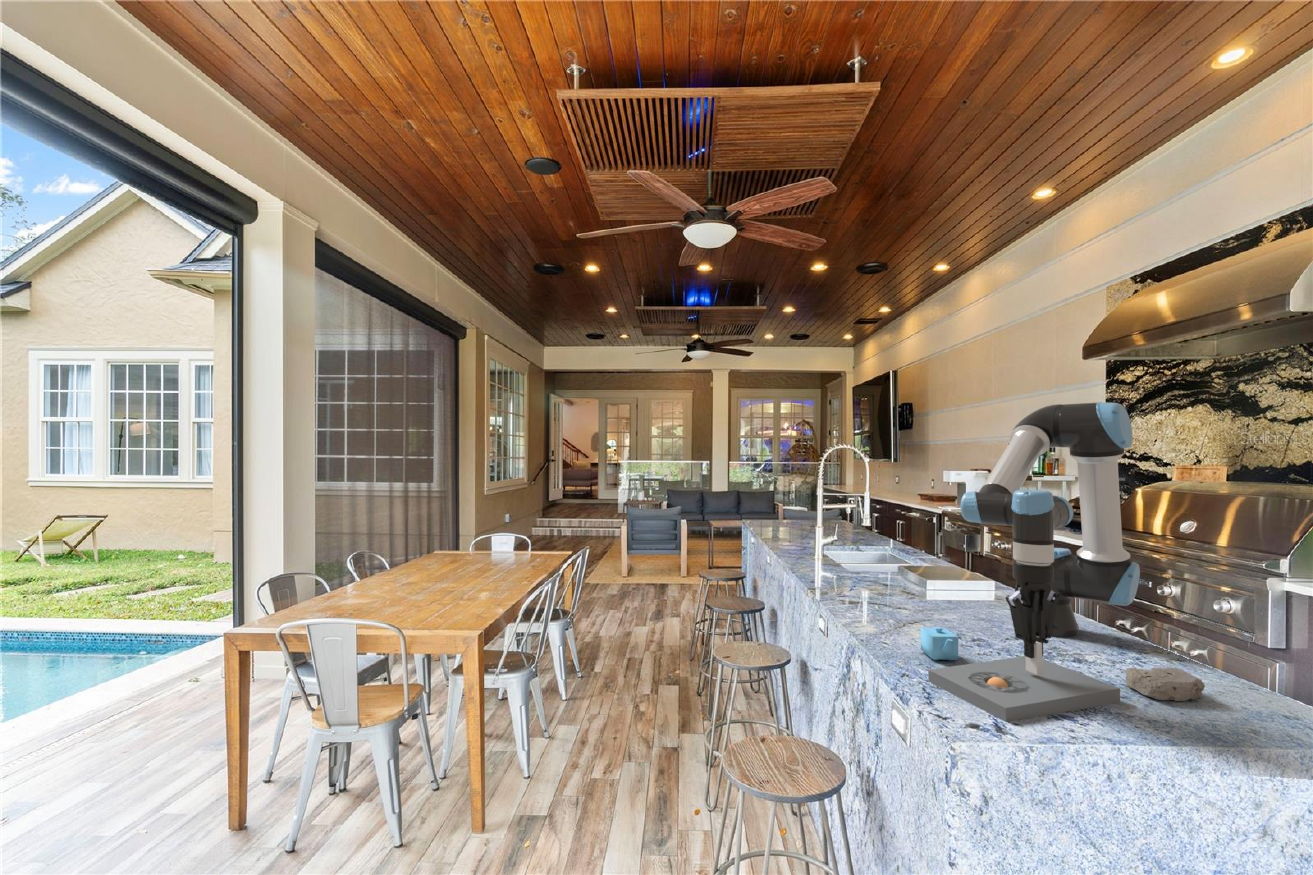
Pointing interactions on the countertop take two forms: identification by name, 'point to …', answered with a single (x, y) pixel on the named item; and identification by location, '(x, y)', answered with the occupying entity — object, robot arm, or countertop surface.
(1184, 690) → the stone
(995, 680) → the ball
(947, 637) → the light blue teapot
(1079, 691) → the plate
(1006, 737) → the countertop surface
